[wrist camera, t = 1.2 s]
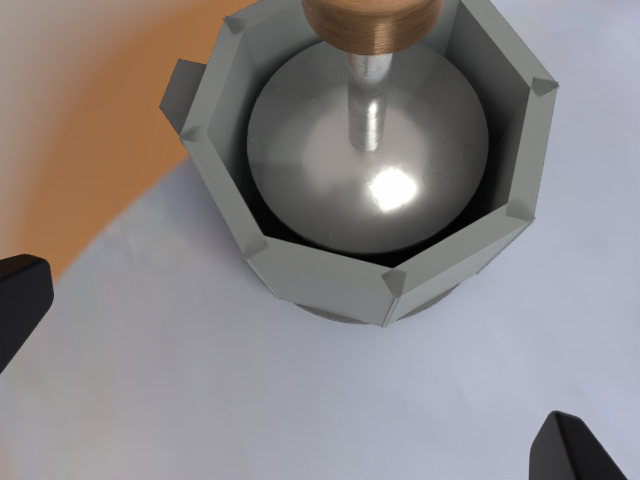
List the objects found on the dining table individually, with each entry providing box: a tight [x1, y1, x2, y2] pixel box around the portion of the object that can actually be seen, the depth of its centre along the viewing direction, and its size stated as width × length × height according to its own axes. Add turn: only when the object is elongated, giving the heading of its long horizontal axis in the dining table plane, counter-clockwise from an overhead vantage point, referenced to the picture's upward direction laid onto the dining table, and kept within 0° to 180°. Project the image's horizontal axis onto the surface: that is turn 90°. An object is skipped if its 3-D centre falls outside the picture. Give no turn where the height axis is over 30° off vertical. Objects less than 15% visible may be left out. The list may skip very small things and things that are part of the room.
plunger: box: [247, 0, 488, 256], centre depth 14 cm, size 8×8×10 cm
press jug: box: [159, 0, 559, 328], centre depth 21 cm, size 12×13×8 cm
